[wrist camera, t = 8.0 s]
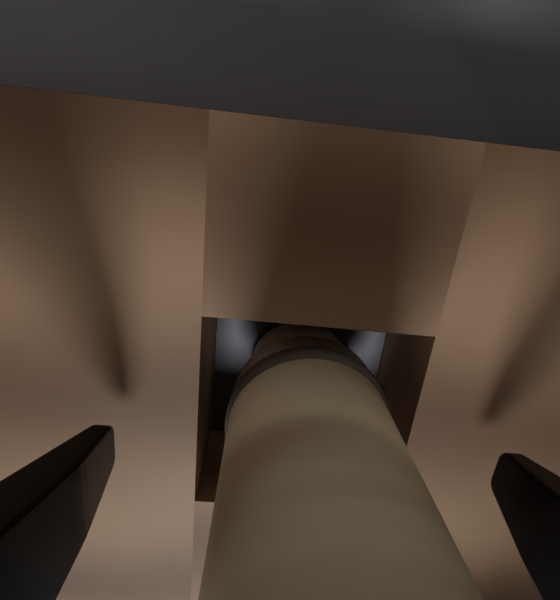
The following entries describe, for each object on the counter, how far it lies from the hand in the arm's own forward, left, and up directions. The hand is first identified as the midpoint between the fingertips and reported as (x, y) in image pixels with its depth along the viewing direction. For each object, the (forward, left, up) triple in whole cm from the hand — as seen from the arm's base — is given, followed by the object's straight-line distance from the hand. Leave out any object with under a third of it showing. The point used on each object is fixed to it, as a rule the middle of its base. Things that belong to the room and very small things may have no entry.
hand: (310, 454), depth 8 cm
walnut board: (0, 0, -4) cm, 4 cm away
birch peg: (0, 0, -4) cm, 4 cm away
